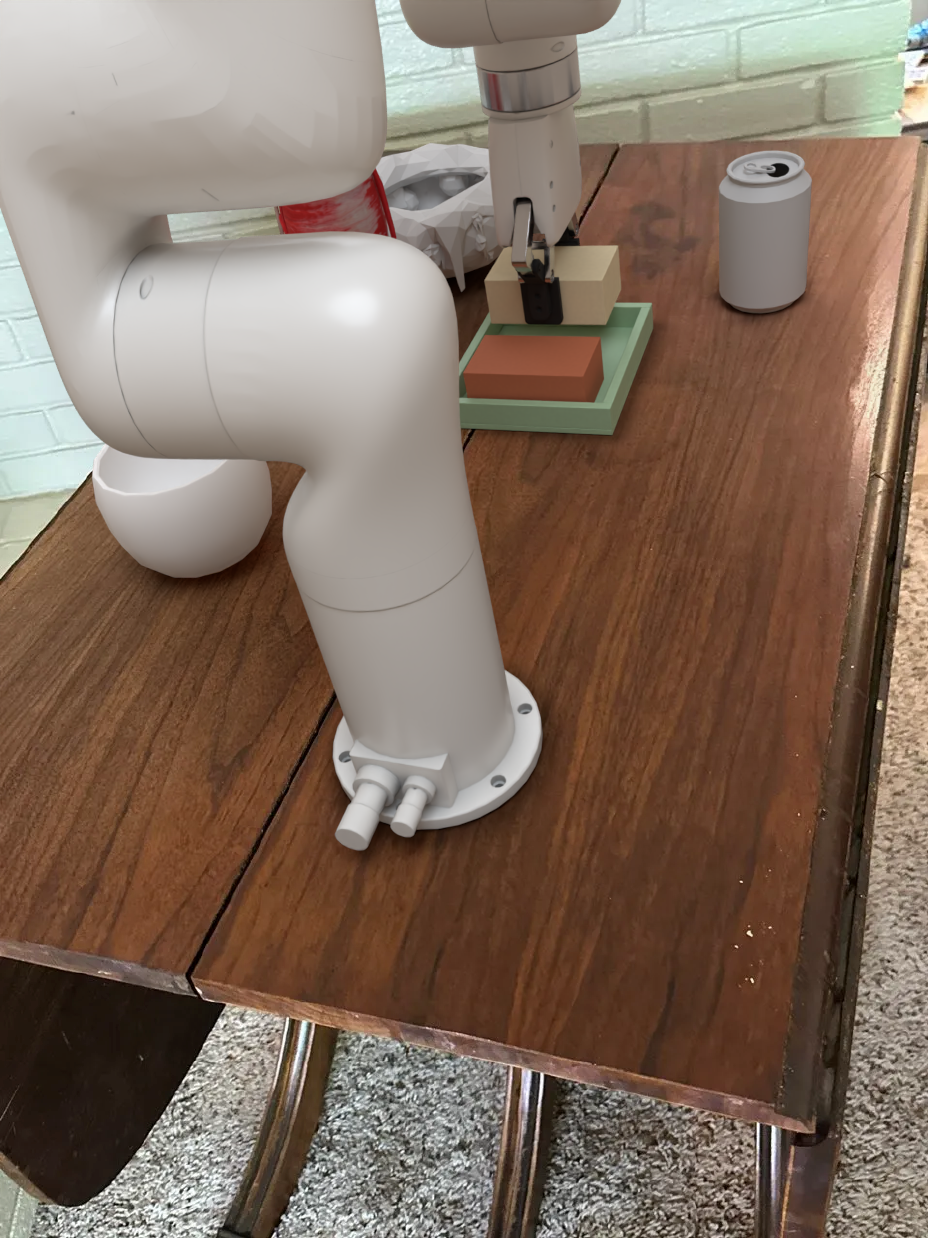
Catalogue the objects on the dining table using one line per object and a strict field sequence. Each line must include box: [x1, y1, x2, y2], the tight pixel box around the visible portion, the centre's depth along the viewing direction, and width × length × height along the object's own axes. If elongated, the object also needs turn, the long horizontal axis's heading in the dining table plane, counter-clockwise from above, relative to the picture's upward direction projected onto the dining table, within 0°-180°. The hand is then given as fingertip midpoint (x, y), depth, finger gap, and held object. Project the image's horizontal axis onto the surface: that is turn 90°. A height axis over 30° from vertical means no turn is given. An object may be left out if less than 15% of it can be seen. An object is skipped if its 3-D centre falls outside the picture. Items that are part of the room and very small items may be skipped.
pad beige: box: [483, 245, 622, 325], centre depth 91 cm, size 6×10×4 cm, turn 72°
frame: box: [459, 302, 654, 436], centre depth 93 cm, size 17×15×2 cm
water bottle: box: [273, 168, 397, 239], centre depth 86 cm, size 12×8×25 cm, turn 77°
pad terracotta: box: [463, 335, 604, 403], centre depth 89 cm, size 6×10×4 cm, turn 72°
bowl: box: [376, 142, 513, 293], centre depth 109 cm, size 21×20×10 cm
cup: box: [91, 443, 273, 579], centre depth 80 cm, size 12×12×10 cm
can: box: [718, 150, 813, 314], centre depth 93 cm, size 8×8×12 cm
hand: (554, 300), depth 92 cm, fingers closed on pad beige, 6 cm apart
